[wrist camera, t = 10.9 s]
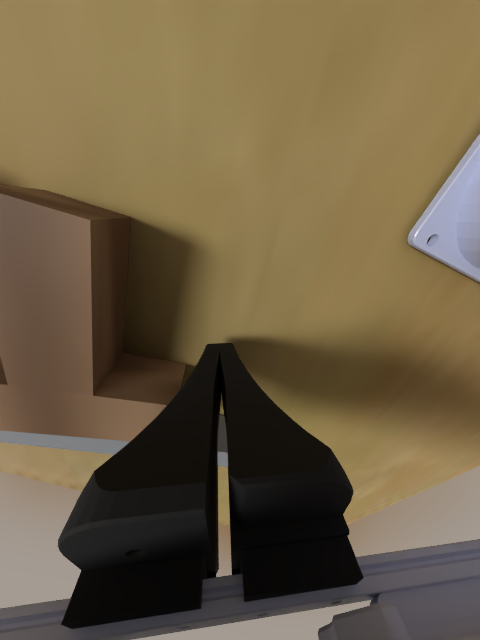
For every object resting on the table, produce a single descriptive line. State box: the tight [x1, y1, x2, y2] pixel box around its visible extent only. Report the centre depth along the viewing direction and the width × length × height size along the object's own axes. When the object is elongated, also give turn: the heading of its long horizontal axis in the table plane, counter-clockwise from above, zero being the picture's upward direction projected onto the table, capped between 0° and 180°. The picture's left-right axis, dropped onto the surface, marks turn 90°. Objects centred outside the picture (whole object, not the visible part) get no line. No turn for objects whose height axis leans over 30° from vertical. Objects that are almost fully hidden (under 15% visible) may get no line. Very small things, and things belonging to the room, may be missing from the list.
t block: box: [0, 185, 186, 441], centre depth 9 cm, size 10×10×3 cm
